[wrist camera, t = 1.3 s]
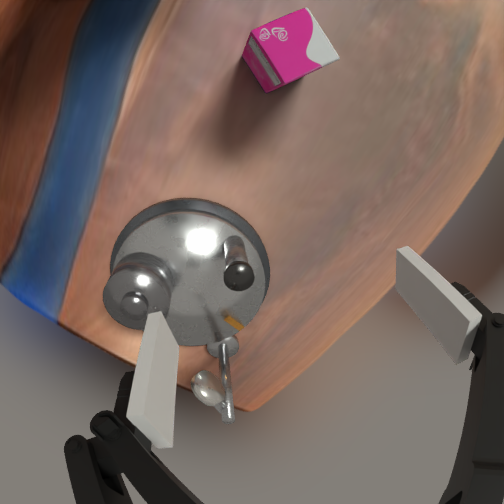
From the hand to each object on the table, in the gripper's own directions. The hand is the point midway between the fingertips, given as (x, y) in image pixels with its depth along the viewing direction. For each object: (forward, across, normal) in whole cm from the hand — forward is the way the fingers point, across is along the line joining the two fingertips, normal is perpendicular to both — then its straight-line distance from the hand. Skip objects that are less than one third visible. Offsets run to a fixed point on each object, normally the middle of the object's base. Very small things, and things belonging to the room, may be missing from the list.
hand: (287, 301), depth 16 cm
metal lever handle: (+24, -10, -21) cm, 34 cm away
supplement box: (+24, +7, +14) cm, 29 cm away
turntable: (+23, -10, -10) cm, 27 cm away
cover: (+20, -15, -7) cm, 27 cm away
